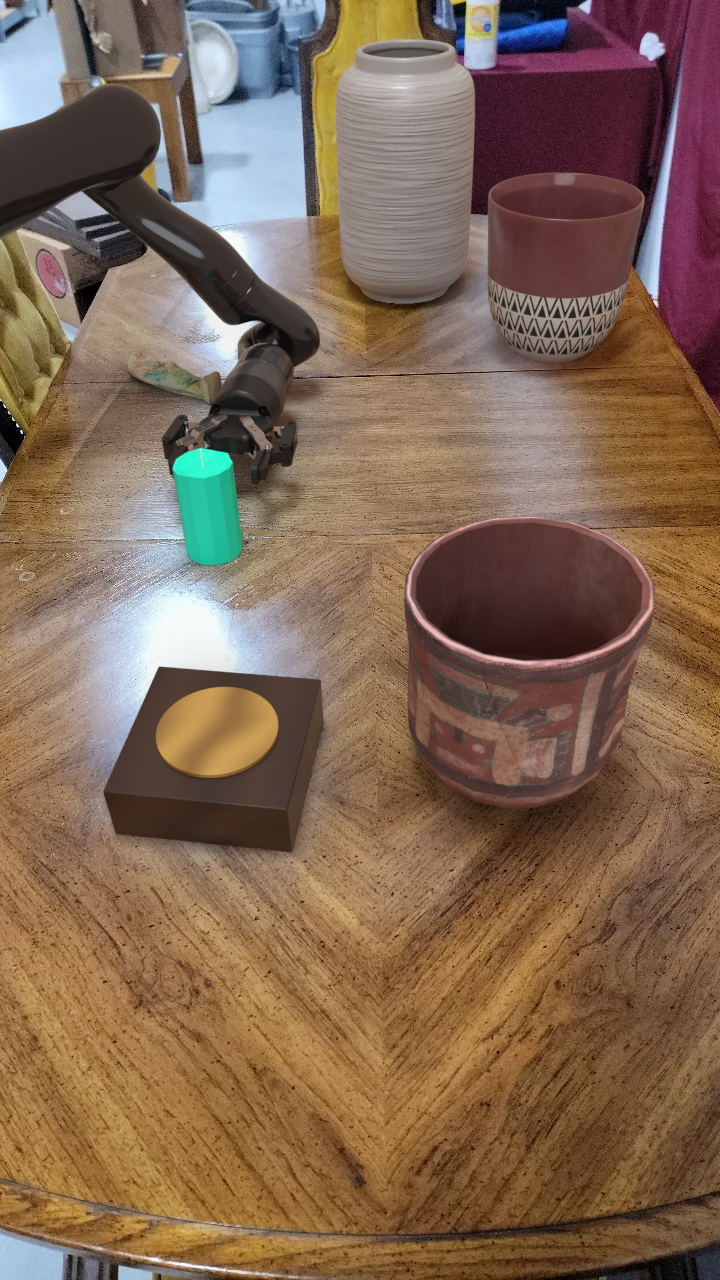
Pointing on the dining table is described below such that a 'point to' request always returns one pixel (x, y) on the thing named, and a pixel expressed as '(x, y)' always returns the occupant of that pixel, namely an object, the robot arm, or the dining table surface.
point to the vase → (405, 169)
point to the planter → (559, 261)
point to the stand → (218, 759)
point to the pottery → (522, 656)
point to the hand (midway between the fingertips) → (214, 475)
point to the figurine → (173, 377)
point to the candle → (208, 506)
